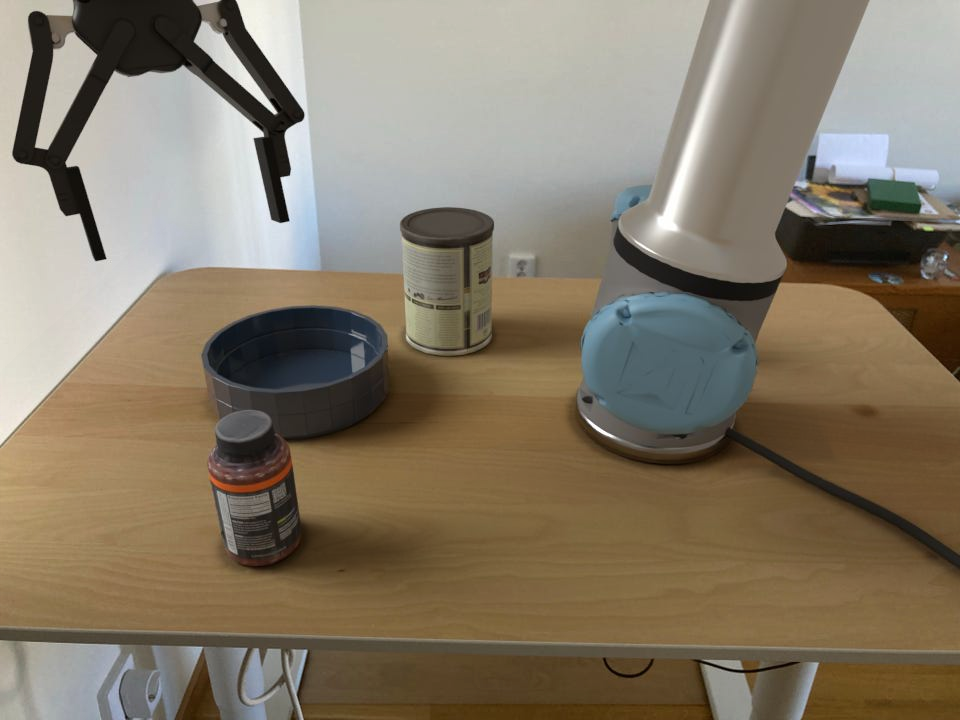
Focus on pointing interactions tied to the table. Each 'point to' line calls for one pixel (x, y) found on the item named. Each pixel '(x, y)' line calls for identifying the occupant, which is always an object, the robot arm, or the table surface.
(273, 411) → the bowl
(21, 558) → the table surface
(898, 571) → the table surface
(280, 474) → the supplement bottle
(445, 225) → the coffee can
